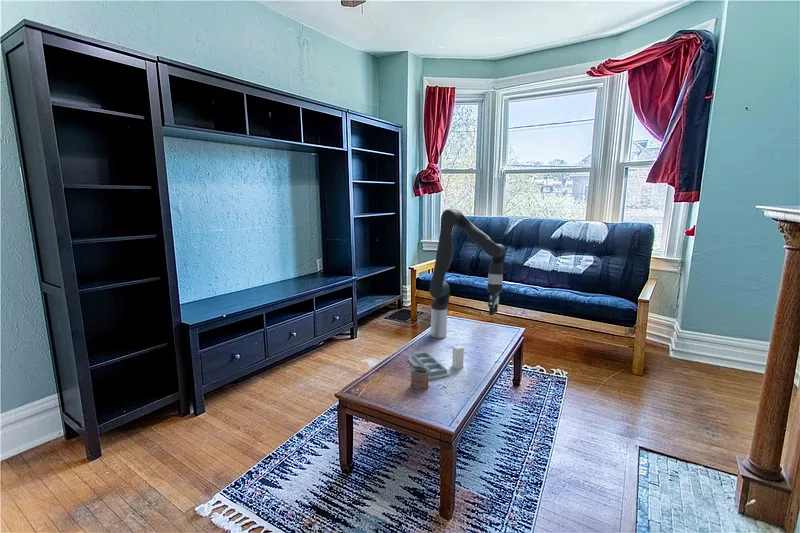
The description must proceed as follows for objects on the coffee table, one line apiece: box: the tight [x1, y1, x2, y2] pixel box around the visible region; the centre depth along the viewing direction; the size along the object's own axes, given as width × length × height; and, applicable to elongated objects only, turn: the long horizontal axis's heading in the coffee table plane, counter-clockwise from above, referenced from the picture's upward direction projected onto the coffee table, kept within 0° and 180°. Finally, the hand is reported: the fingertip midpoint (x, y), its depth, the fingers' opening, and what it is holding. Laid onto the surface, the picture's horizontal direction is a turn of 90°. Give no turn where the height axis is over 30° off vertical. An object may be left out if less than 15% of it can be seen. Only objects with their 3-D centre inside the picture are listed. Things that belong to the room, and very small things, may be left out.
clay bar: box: [451, 344, 465, 369], centre depth 190 cm, size 4×4×10 cm
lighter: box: [410, 365, 430, 391], centre depth 169 cm, size 8×3×10 cm, turn 71°
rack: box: [408, 351, 451, 380], centre depth 189 cm, size 22×12×3 cm, turn 22°
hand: (493, 313), depth 202 cm, fingers open, 8 cm apart
